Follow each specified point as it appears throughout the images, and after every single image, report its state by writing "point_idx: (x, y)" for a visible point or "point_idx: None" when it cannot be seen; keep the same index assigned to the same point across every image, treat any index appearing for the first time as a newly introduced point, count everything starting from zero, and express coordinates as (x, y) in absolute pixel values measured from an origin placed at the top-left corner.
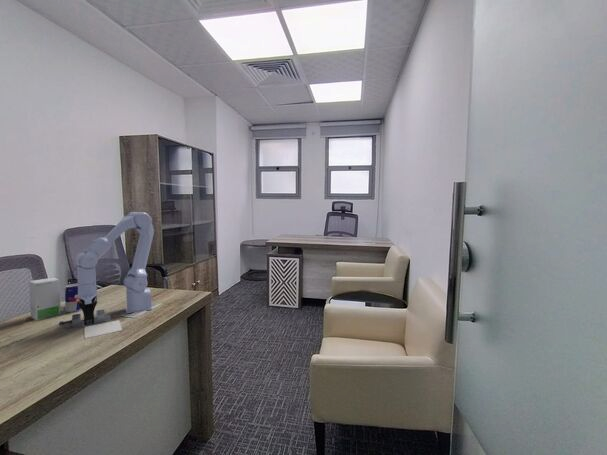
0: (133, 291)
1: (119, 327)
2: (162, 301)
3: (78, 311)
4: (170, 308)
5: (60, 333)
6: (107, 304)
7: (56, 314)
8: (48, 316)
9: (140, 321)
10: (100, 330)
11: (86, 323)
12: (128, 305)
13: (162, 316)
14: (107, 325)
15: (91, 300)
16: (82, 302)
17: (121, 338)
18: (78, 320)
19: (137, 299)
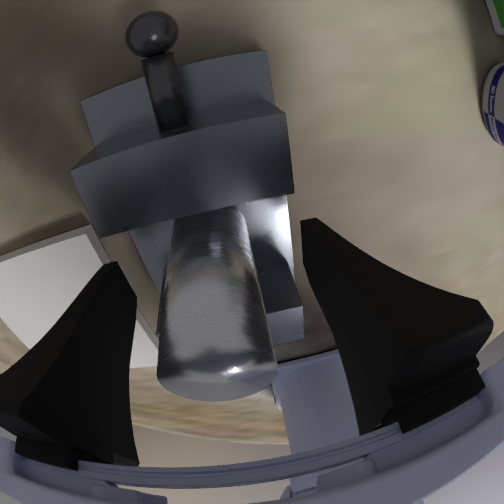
0: (297, 484)
1: None
2: None
3: (489, 128)
4: (257, 428)
5: (57, 77)
6: (489, 251)
7: (496, 12)
8: None
9: (153, 397)
10: (39, 318)
11: (174, 221)
12: (305, 397)
13: (185, 424)
14: None
15: (353, 379)
16: (364, 313)
17: (12, 359)
18: (97, 214)
19: (289, 443)
